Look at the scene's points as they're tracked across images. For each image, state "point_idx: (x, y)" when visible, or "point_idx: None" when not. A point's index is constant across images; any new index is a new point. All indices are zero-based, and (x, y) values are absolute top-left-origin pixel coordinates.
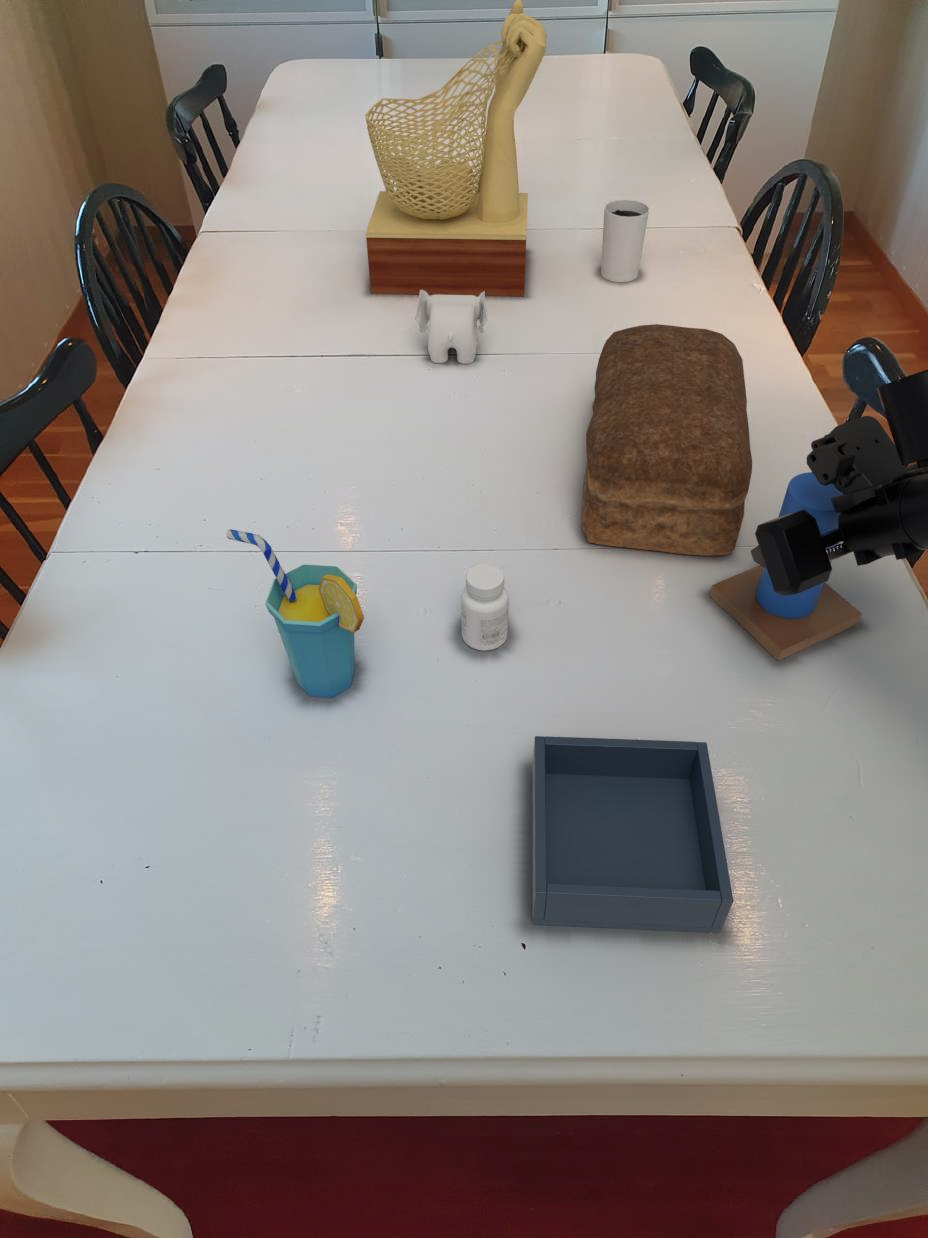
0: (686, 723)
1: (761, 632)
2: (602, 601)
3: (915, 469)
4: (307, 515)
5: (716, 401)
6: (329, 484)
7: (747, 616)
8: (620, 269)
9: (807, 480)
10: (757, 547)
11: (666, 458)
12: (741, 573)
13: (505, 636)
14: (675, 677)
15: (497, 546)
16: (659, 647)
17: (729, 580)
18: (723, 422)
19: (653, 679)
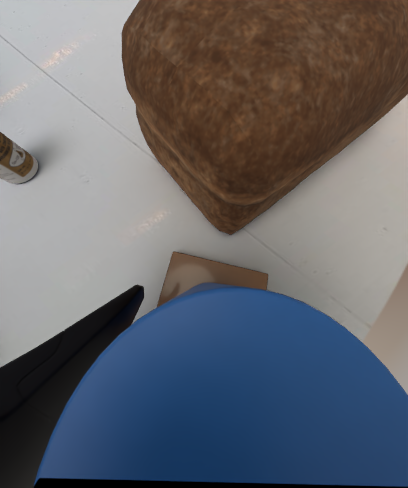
0: (27, 339)
1: None
2: (109, 201)
3: None
4: (54, 37)
5: (364, 7)
6: (87, 26)
7: (160, 301)
8: None
9: (266, 362)
10: (104, 306)
11: (161, 57)
12: (206, 260)
13: (16, 179)
14: (71, 296)
15: (108, 118)
16: (93, 264)
17: (190, 258)
18: (328, 48)
19: (57, 285)
